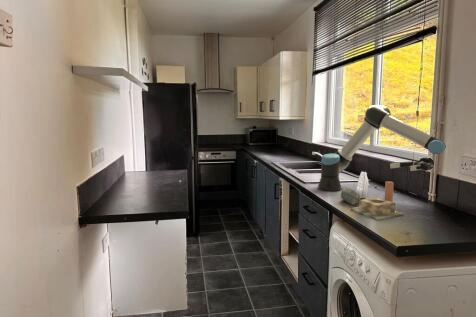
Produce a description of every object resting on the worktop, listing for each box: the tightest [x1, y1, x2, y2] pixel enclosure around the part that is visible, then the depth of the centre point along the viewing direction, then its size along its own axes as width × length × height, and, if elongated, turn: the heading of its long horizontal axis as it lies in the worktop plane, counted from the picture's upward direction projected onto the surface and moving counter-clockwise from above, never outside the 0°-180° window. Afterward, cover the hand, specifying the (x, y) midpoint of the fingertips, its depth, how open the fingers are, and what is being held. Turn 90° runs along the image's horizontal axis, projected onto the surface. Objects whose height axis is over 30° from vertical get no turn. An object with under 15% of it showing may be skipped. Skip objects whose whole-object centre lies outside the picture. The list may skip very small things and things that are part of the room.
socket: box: [350, 196, 405, 221], centre depth 166 cm, size 18×18×6 cm
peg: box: [384, 181, 395, 202], centre depth 175 cm, size 4×4×14 cm
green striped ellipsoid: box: [340, 187, 361, 206], centre depth 185 cm, size 14×10×10 cm
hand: (400, 167), depth 176 cm, fingers open, 13 cm apart
